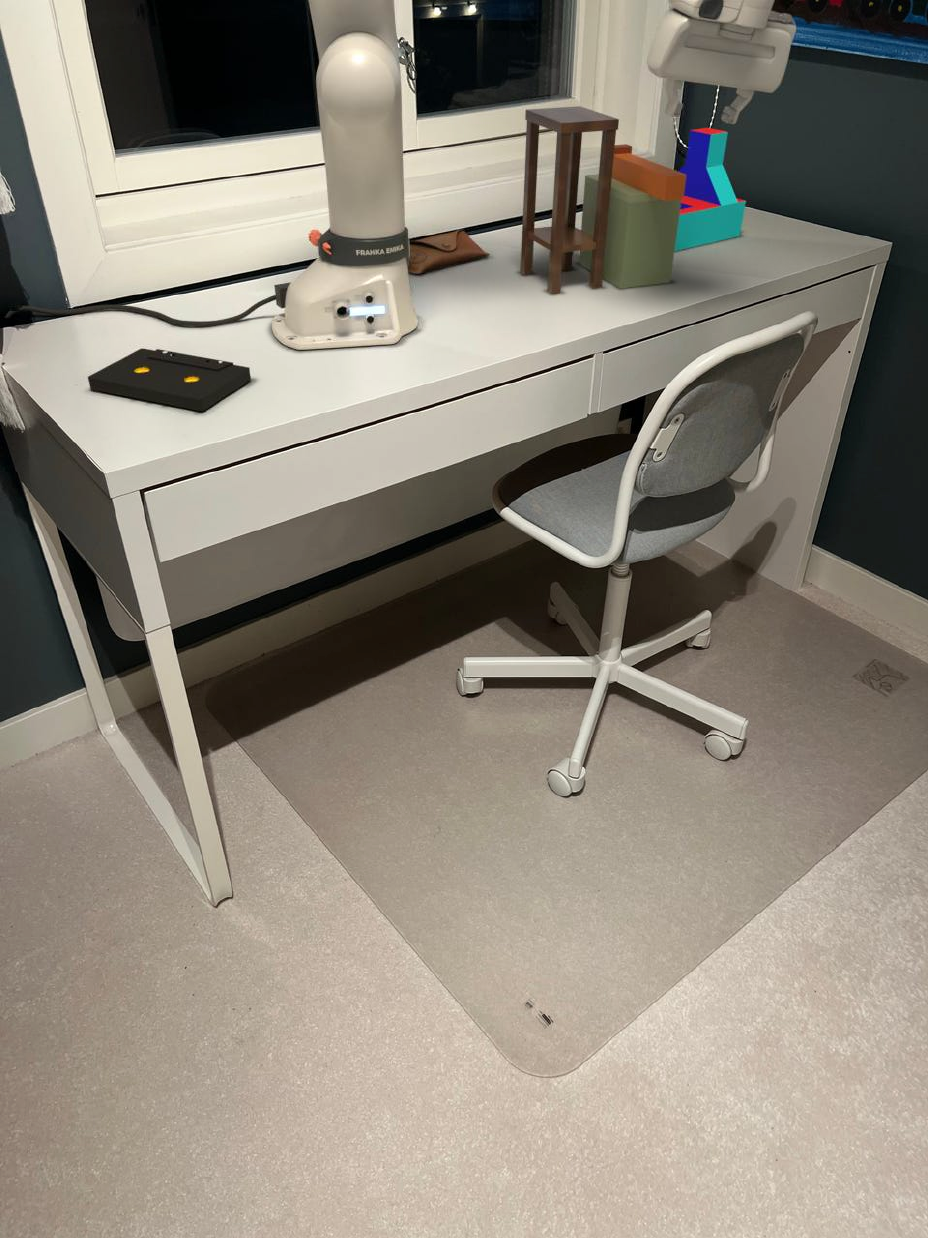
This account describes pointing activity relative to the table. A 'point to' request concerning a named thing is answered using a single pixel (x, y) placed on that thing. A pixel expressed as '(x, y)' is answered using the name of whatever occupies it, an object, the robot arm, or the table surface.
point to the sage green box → (632, 234)
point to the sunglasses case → (442, 251)
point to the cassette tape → (171, 378)
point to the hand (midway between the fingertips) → (700, 118)
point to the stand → (566, 191)
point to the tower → (647, 175)
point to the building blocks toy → (707, 193)
